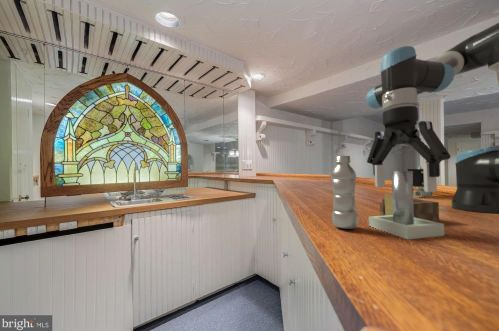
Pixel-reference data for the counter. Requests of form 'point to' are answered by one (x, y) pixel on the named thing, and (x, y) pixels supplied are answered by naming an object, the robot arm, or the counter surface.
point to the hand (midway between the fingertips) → (402, 189)
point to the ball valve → (419, 183)
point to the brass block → (388, 204)
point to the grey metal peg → (402, 197)
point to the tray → (407, 227)
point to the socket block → (420, 209)
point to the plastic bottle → (344, 194)
